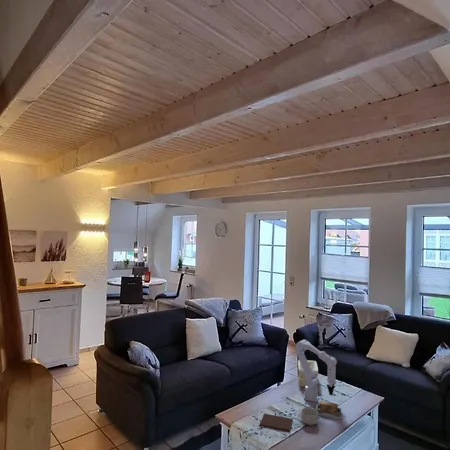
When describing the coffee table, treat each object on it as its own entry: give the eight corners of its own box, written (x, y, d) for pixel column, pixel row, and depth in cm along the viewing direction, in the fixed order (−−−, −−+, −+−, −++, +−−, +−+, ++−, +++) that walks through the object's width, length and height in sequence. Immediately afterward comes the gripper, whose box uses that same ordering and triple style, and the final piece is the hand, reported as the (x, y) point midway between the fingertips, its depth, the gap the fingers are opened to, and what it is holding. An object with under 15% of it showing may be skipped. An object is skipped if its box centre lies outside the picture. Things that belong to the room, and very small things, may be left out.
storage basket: (297, 375, 311) (298, 358, 311) (316, 377, 308) (316, 360, 308) (298, 386, 287) (298, 369, 288) (318, 389, 284) (318, 371, 285)
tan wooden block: (319, 411, 246) (319, 403, 246) (320, 409, 250) (320, 400, 250) (337, 415, 242) (337, 406, 242) (337, 412, 245) (337, 403, 246)
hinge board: (314, 414, 244) (314, 409, 244) (316, 407, 253) (316, 402, 254) (341, 419, 238) (341, 414, 238) (342, 412, 247) (342, 407, 247)
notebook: (264, 415, 242) (264, 412, 242) (292, 420, 236) (292, 417, 236) (259, 426, 228) (259, 423, 228) (289, 432, 222) (289, 429, 222)
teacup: (314, 429, 226) (315, 416, 226) (298, 424, 231) (299, 412, 232) (321, 419, 237) (321, 407, 238) (305, 414, 243) (305, 403, 243)
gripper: (336, 378, 250) (336, 397, 249) (337, 371, 263) (337, 389, 263) (326, 377, 252) (326, 396, 252) (327, 370, 266) (327, 387, 266)
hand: (331, 392), depth 258 cm, fingers open, 7 cm apart
